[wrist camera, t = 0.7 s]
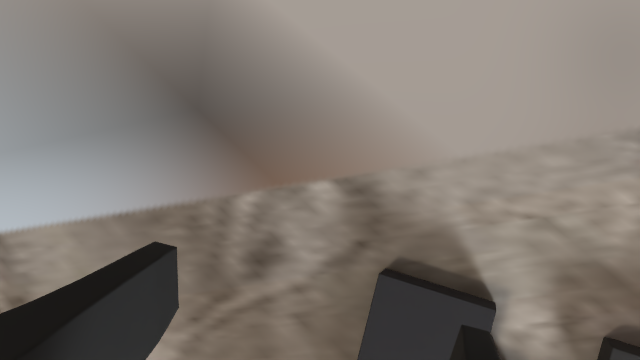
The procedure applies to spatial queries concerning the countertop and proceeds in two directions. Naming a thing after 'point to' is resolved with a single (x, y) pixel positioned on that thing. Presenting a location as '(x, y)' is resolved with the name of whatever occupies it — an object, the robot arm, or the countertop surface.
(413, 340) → the tab pad
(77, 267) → the countertop surface
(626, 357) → the base pad
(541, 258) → the countertop surface
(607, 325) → the countertop surface
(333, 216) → the countertop surface
